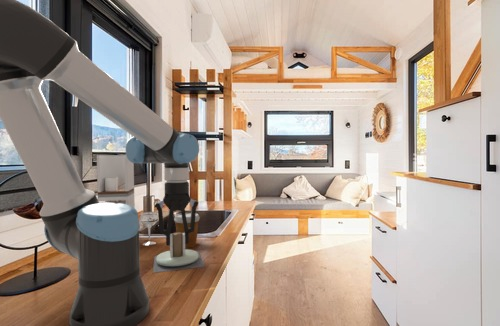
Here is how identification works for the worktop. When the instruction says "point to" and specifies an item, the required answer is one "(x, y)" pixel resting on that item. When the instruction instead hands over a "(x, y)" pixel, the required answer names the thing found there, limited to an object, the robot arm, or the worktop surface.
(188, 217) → the disposable coffee cup
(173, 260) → the lid
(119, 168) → the grey box-shaped tower
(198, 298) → the worktop surface
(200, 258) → the mat
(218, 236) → the worktop surface
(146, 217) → the wineglass
